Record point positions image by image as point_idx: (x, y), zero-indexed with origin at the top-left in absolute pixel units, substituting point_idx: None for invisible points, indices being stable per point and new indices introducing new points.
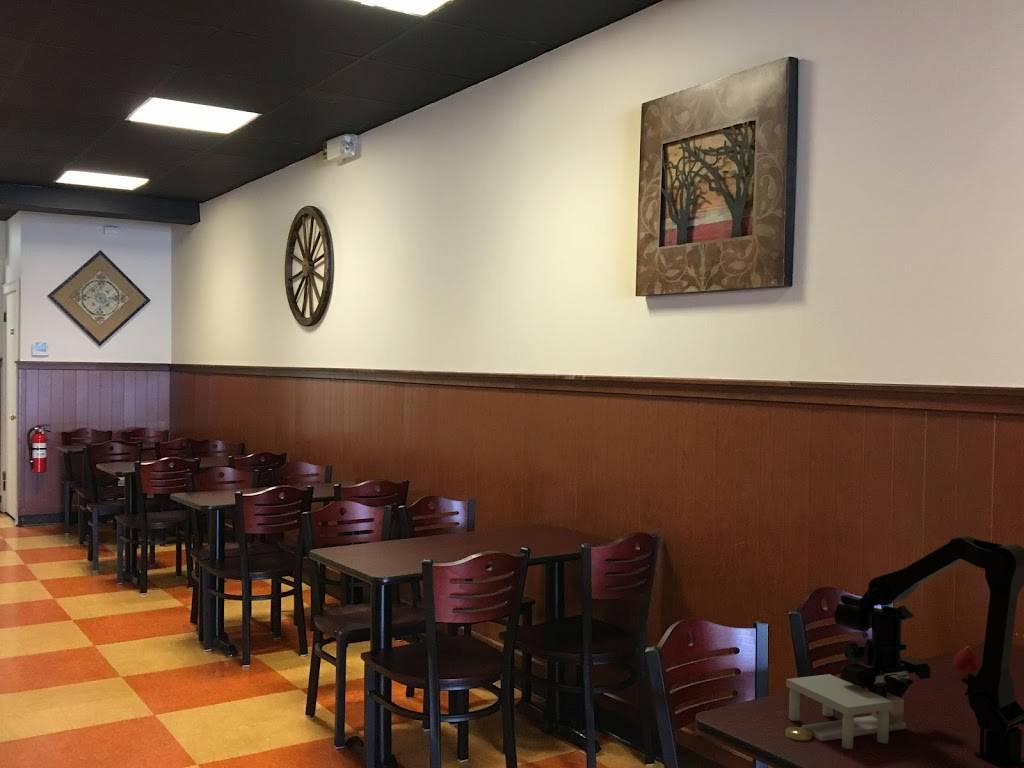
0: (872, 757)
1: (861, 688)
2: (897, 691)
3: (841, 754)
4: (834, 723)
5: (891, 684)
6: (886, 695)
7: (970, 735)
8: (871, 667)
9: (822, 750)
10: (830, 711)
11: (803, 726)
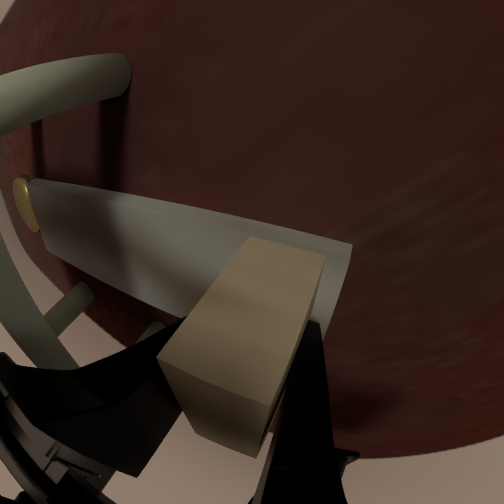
0: (114, 335)
1: (36, 366)
2: (261, 474)
3: None
4: (73, 212)
5: (256, 498)
6: (169, 428)
7: (417, 428)
8: (20, 493)
9: (55, 269)
10: (95, 101)
11: (27, 190)
